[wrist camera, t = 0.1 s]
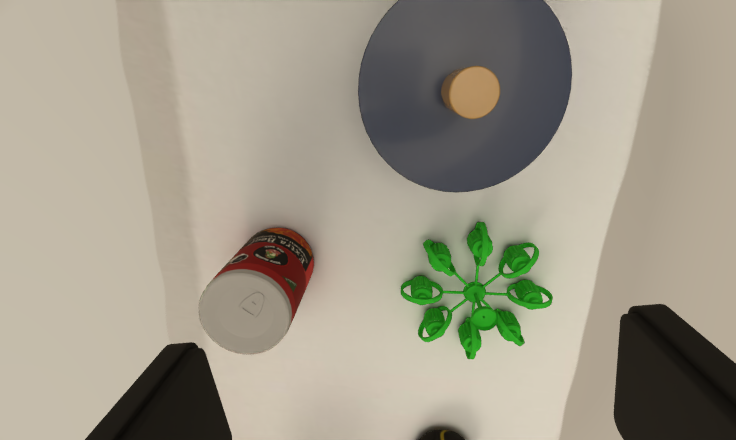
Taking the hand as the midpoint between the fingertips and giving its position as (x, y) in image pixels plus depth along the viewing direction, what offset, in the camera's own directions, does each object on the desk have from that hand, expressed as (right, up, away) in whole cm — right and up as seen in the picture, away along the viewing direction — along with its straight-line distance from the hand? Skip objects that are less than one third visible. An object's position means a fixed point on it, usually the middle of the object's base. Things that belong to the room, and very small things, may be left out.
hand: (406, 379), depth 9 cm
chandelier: (+10, -3, +34) cm, 35 cm away
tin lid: (+6, +13, +19) cm, 24 cm away
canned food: (-10, -1, +34) cm, 36 cm away
